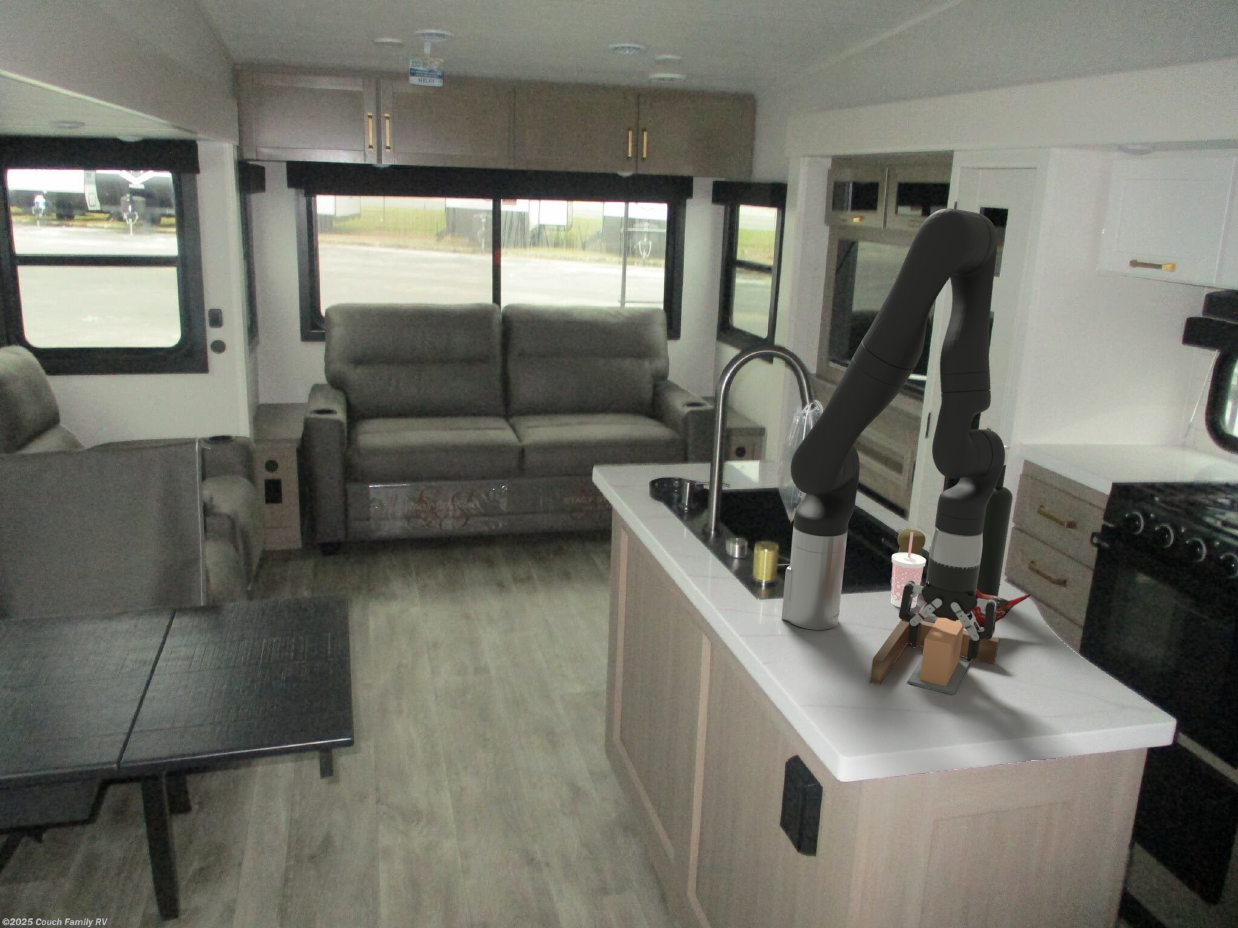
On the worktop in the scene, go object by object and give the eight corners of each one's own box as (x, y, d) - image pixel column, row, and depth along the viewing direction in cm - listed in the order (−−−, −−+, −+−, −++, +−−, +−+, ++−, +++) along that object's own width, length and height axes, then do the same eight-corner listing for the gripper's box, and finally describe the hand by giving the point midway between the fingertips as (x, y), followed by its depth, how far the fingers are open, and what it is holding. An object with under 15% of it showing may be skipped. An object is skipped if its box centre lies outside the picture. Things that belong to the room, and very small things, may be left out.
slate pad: (907, 682, 153) (907, 680, 153) (926, 651, 164) (926, 649, 164) (953, 695, 149) (953, 692, 149) (970, 662, 160) (970, 660, 160)
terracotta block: (934, 655, 162) (939, 615, 160) (959, 661, 160) (964, 621, 158) (919, 679, 153) (924, 638, 151) (945, 686, 151) (951, 644, 149)
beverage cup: (926, 608, 181) (936, 537, 177) (896, 611, 180) (905, 538, 176) (909, 595, 187) (918, 526, 183) (880, 597, 185) (888, 527, 182)
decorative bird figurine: (942, 637, 169) (950, 583, 167) (1019, 623, 176) (1027, 571, 174) (954, 644, 167) (962, 590, 164) (1032, 629, 174) (1040, 577, 171)
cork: (923, 591, 189) (930, 537, 186) (891, 588, 190) (897, 534, 187) (920, 580, 195) (927, 527, 192) (889, 576, 196) (895, 524, 193)
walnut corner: (870, 681, 153) (872, 658, 152) (901, 637, 169) (903, 616, 168) (973, 709, 145) (977, 685, 144) (995, 660, 161) (999, 638, 160)
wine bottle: (966, 602, 185) (987, 448, 177) (964, 590, 190) (985, 440, 182) (998, 606, 183) (1021, 451, 176) (995, 594, 189) (1018, 444, 181)
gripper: (1007, 558, 151) (993, 654, 155) (914, 540, 158) (902, 633, 162) (999, 573, 145) (984, 673, 149) (902, 554, 152) (891, 650, 156)
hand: (942, 652), depth 156 cm, fingers open, 8 cm apart
